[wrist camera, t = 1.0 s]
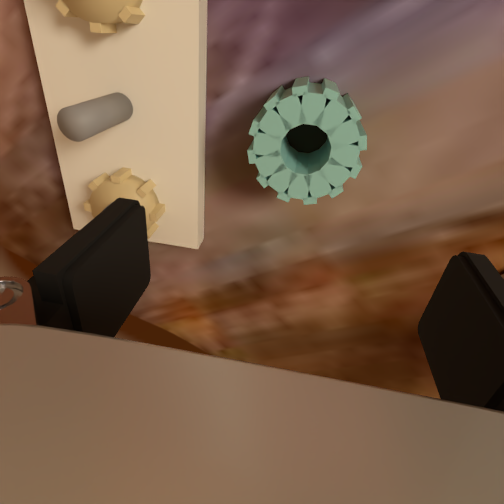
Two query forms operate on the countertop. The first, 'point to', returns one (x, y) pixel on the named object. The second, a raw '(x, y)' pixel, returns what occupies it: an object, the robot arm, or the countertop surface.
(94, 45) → the gear board
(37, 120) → the countertop surface
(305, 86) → the loose gear
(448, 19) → the countertop surface
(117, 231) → the robot arm
